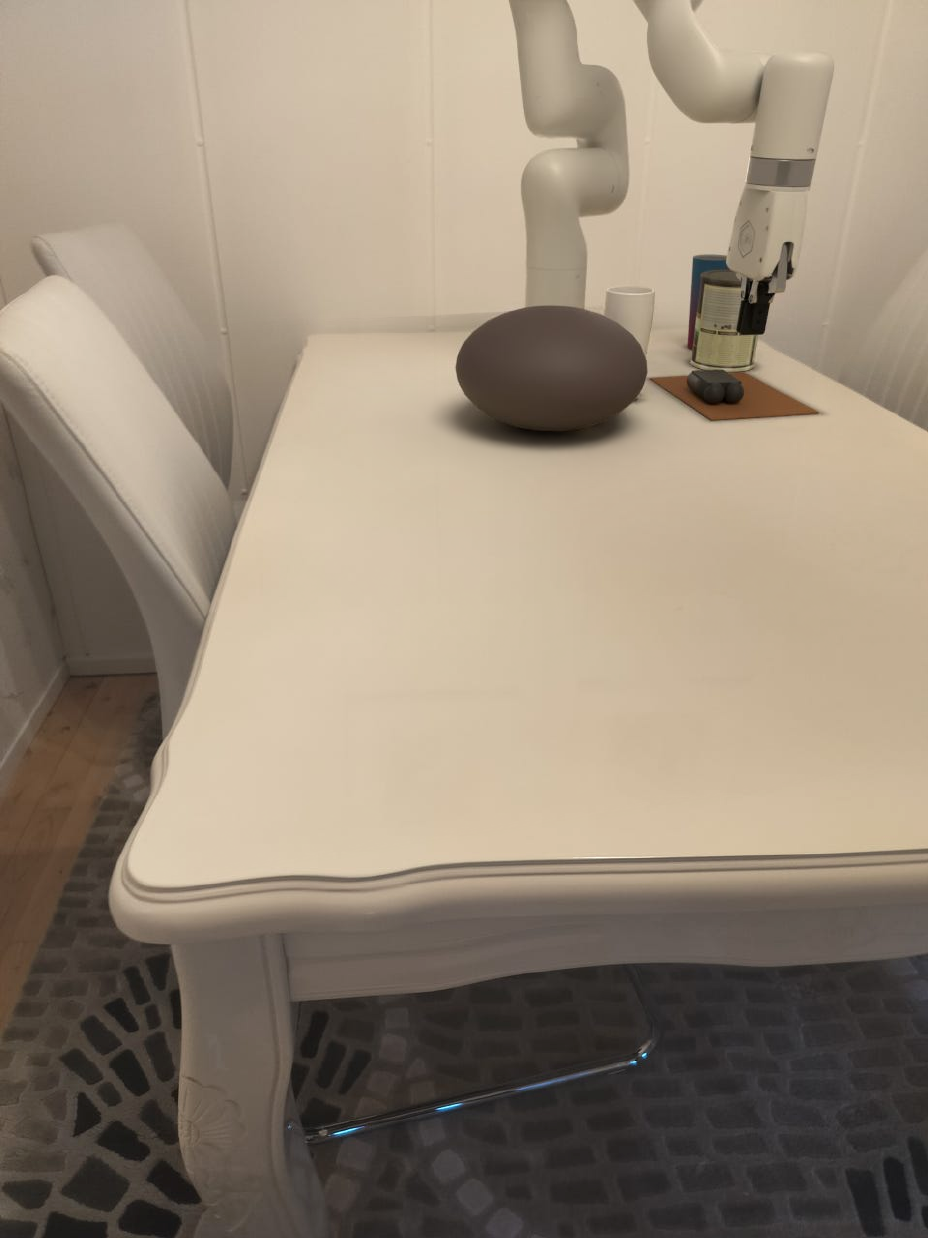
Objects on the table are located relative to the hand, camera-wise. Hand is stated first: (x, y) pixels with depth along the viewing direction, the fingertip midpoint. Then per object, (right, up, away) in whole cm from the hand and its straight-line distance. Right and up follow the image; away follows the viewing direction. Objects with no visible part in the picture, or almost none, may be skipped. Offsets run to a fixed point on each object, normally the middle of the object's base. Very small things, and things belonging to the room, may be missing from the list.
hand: (749, 332), depth 114 cm
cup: (+5, +11, +42) cm, 44 cm away
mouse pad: (+2, -4, +16) cm, 17 cm away
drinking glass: (-14, -5, +15) cm, 21 cm away
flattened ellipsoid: (-26, -11, +4) cm, 28 cm away
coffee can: (+6, +5, +32) cm, 33 cm away
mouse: (-1, -5, +15) cm, 15 cm away
